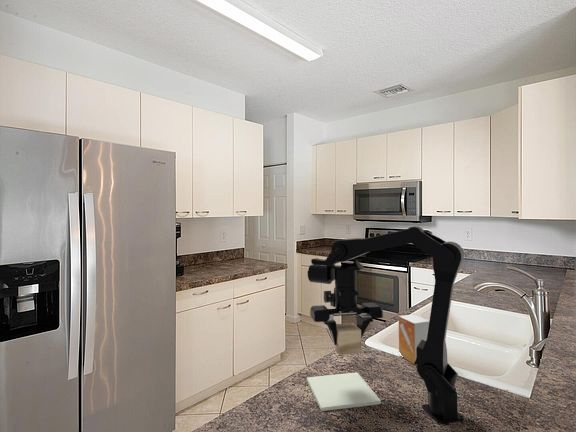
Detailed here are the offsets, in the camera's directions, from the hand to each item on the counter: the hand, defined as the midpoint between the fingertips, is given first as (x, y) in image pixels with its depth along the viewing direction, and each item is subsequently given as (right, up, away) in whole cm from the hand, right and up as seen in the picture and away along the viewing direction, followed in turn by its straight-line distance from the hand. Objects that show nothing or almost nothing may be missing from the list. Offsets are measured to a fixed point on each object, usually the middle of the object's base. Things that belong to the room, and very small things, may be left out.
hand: (346, 343), depth 88 cm
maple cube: (0, -2, 0) cm, 2 cm away
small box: (+25, -12, +17) cm, 32 cm away
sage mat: (-2, -12, -2) cm, 12 cm away
